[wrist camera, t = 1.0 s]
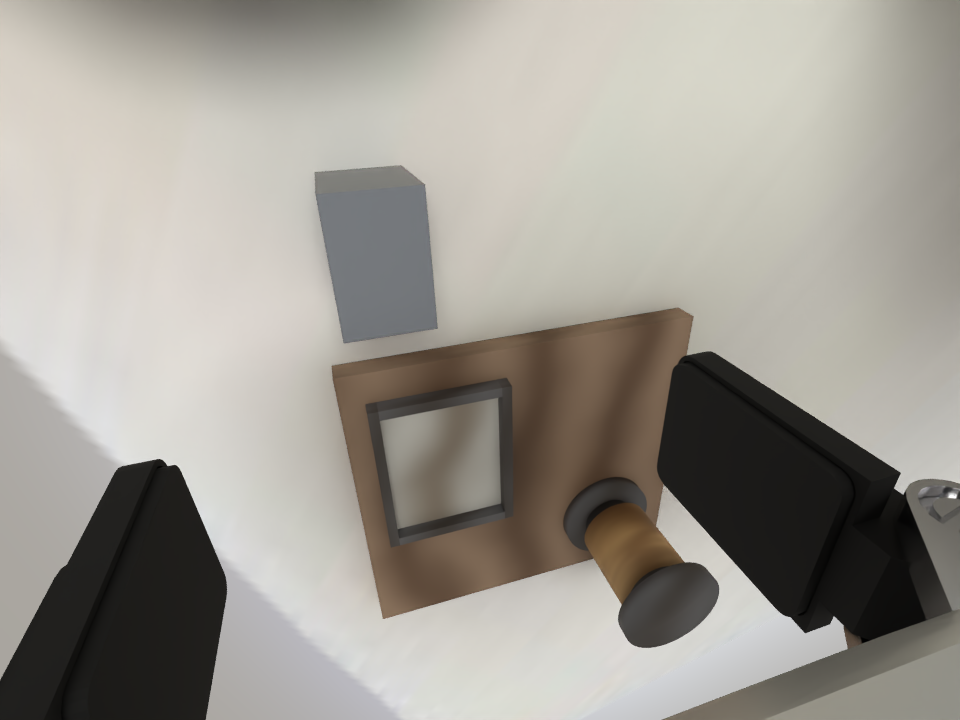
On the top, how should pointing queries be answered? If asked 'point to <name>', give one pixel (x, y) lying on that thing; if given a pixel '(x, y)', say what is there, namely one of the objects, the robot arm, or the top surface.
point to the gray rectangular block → (377, 250)
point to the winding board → (523, 467)
